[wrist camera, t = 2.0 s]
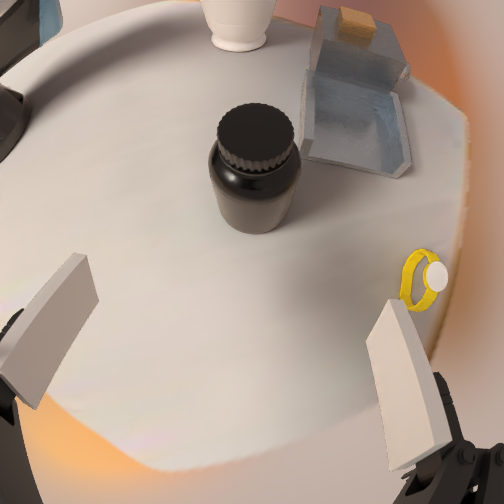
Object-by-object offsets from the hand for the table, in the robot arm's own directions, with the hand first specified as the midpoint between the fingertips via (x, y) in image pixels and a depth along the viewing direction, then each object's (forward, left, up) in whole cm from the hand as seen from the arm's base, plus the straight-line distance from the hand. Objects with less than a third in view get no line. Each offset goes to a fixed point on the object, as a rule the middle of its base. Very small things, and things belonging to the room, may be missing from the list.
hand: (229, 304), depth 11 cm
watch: (+17, +4, -15) cm, 23 cm away
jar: (-6, +38, -15) cm, 42 cm away
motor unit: (+11, +27, -14) cm, 32 cm away
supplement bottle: (0, +10, -15) cm, 18 cm away
